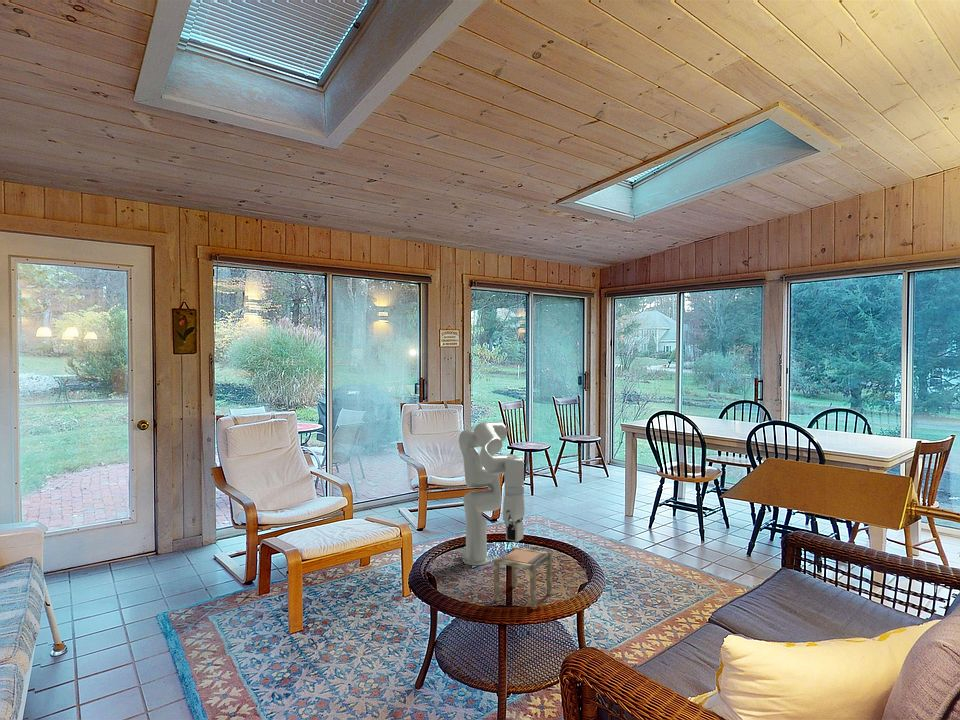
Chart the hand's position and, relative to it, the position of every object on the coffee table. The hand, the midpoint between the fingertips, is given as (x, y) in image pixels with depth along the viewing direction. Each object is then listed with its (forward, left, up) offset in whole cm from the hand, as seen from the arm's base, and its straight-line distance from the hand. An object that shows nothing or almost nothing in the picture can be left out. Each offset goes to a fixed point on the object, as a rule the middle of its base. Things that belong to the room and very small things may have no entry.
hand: (514, 537), depth 204 cm
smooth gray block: (0, 0, -1) cm, 1 cm away
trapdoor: (+4, 0, -8) cm, 8 cm away
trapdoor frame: (+4, 0, -22) cm, 22 cm away
